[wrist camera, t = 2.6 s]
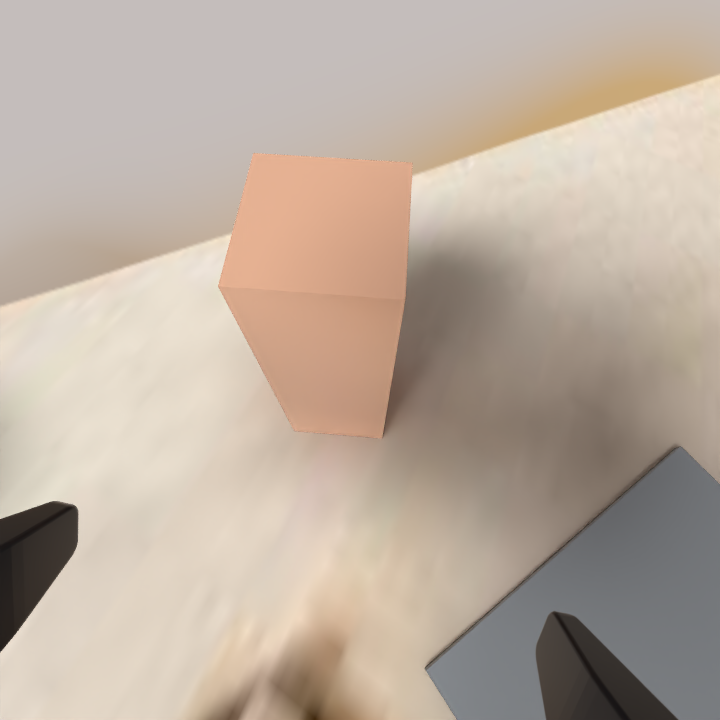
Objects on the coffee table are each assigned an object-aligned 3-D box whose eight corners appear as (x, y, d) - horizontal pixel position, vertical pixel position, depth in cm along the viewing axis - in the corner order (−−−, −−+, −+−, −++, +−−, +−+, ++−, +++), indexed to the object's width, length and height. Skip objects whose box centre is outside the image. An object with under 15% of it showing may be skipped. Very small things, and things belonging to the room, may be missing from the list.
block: (382, 438, 22) (405, 299, 10) (294, 431, 22) (218, 286, 10) (387, 358, 24) (412, 162, 12) (306, 351, 24) (253, 153, 12)
